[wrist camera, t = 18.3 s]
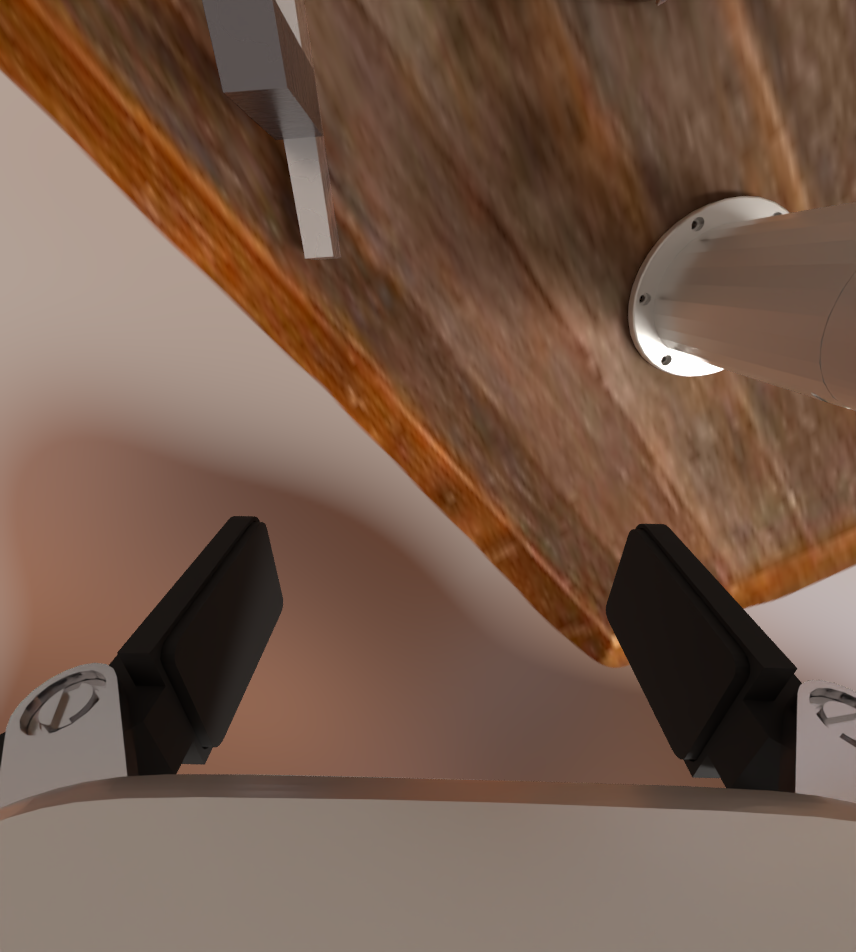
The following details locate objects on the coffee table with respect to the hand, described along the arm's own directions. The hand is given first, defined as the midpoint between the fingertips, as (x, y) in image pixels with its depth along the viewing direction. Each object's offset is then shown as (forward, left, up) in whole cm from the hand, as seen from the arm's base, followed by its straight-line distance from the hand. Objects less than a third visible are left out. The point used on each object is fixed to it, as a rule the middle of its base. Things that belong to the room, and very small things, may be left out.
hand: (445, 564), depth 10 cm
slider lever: (+8, -16, -26) cm, 32 cm away
